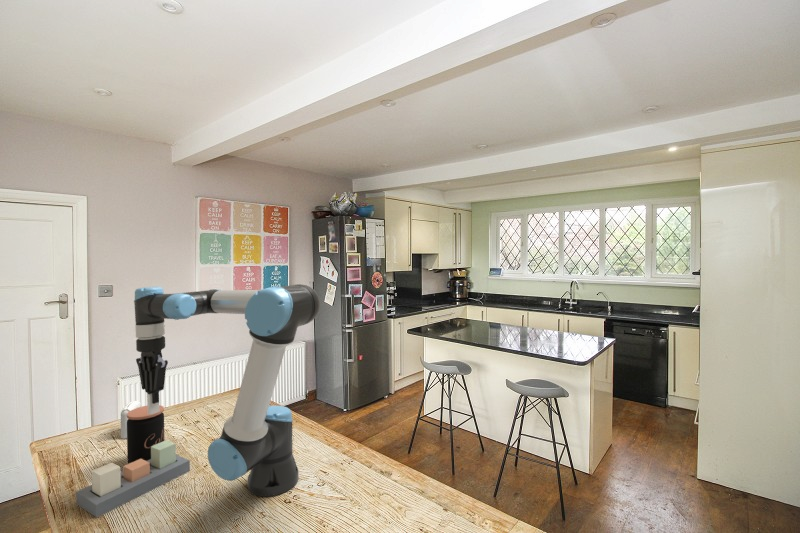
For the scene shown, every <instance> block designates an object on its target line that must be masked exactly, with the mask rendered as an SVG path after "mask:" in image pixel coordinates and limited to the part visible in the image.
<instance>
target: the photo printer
mask: <svg viewBox="0 0 800 533" xmlns="http://www.w3.org/2000/svg"><path fill="white" fill-rule="evenodd" d="M139 407H142V402H140V401H139V400H132V401H130V402H128V403H127V404H126V405H125V406H124V407H123V408H122V410H121V411H120V437H121V439H122V440H125V439H126V440H127V420H128V418H127V413H128V412H129V411H131V410H133V409H136V408H139Z"/></svg>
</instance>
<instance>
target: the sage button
mask: <svg viewBox="0 0 800 533" xmlns="http://www.w3.org/2000/svg"><path fill="white" fill-rule="evenodd" d="M176 449H177V448H176V443H175V442H173V441H170V440H167V439H165V441H163V442H161V443H158V444H156V445H153V446H151V465H153V466H155V467H157V468H159V469H161V468H163V467H165V466H168V465H170V464H172V463H174V462H176V455H177V453H176V452H177V451H176Z"/></svg>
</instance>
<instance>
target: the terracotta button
mask: <svg viewBox="0 0 800 533" xmlns="http://www.w3.org/2000/svg"><path fill="white" fill-rule="evenodd" d="M122 471H123V478H124V479H125V480H127V481H129V482H131V483H132V482H134V481H136V480H138V479H140V478H142V477H144V476H147V475H149V474H150V463H149V462H147V461H145V460H143V459H139V460H137V461H134V462H132V463H129V464H128V463H127V464H125V465H123V469H122Z"/></svg>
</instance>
